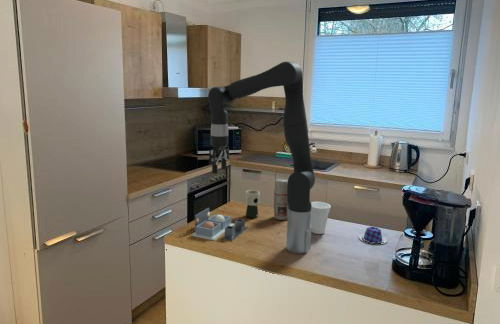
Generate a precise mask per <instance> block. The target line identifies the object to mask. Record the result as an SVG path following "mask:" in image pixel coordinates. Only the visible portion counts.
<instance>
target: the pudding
mask: <svg viewBox="0 0 500 324" xmlns="http://www.w3.org/2000/svg"><path fill="white" fill-rule="evenodd" d="M362 235H364V238H363V239H365V240H367V242H365V241H363V240H362V239H361V236H362ZM358 238H359V239H360V240H361V241H362V242H364V243H368V241H369V242H375V243H378V242H383V240H382V238H383V239H384V243H381V244H380V245H382V244H386V243H387V242H388V239H387V237H385V236H383V235H382V229H380V228H378V227H375V226H369V227H367V228H366V229H365V232H364V233H362V234H360V235H358ZM368 244H369V243H368ZM371 244H372V245H374V244H373V243H371Z"/></svg>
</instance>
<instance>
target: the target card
mask: <svg viewBox="0 0 500 324" xmlns="http://www.w3.org/2000/svg"><path fill="white" fill-rule="evenodd" d="M210 215H211V213H210V207H207V208H205V209H204V210H201V211H199V212H198V213H197V214H195V215H194V233H195V232H196V226H198V225H199V224H201V223H202V222H204V221H207V219H209V218H210V217H211V216H210Z"/></svg>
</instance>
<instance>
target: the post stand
mask: <svg viewBox="0 0 500 324" xmlns="http://www.w3.org/2000/svg"><path fill="white" fill-rule="evenodd" d="M245 223H246V219H242V218H237V219H235V220H234V224H235V225H234V226H227V227H226V228H225V233H224V235H223V236H222V237H221V239H222V240H226V241H231V242H232V241H234V240H235V239H236V238H238V237H239V236H240V235H242V234H243V232H245V231H246V230H247V229H248V227H247V226H246V225H245Z"/></svg>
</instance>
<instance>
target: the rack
mask: <svg viewBox="0 0 500 324" xmlns="http://www.w3.org/2000/svg"><path fill="white" fill-rule="evenodd" d="M217 215H219V214H217V213H216V214H214V215H212V216H209V219H207V221H204V222H202V223H201V224H199V225H198V226H196V232H195V231H194V232H193V233H192V234H191V236H192V237H195V238H201V239H204V240H209V241H216V240H217V239H218V238H219V237H221V236H222V235H223V234H224V235H225V228H226V227H227V226H233V227H235V223H233V222H232V216H229V215H223V214H221V215H222V216H223V217H224V218H225V220H224V221H223V222H221V221H216V220H214V218H215V216H217ZM206 222H212V223H213V224H214V228H213V229H209V228H204V227H203V225H204V223H206Z"/></svg>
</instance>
